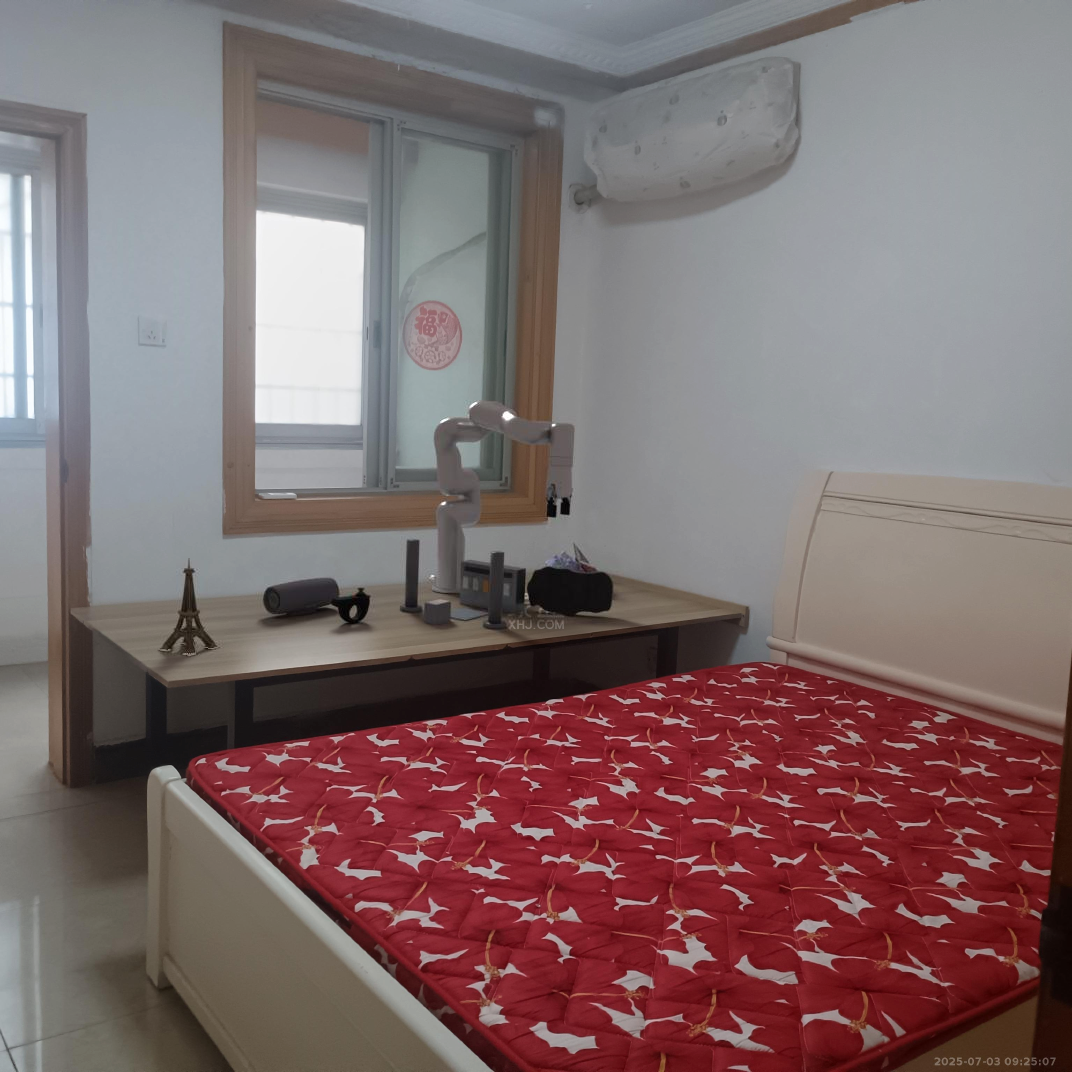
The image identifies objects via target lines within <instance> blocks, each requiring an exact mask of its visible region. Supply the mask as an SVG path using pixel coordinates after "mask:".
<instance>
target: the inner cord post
mask: <svg viewBox="0 0 1072 1072" xmlns="http://www.w3.org/2000/svg"><path fill="white" fill-rule="evenodd" d="M405 545H406V552H405V553H406V554H405V583H404V584H405V587H404V604H400V605H399V611H401V612H404V613H419V612H422V611H423V605H421V604H418V603H419V601H418V600H419V571H420V539H416V538H407V539H406V544H405Z"/></svg>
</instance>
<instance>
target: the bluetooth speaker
mask: <svg viewBox="0 0 1072 1072" xmlns="http://www.w3.org/2000/svg"><path fill="white" fill-rule="evenodd" d="M337 597H340V588H339V584H338V582H337V581H336V580H335V579H334V578H332V577H317V578H315V577H314V578H309V579H299V580H295V581H294V580H293V581H289V582H284V583H279V584H276V585H275V584H274V585H270V586H268V587H267V588H266V589H265V591H264V593H263V596H262V604H263V606H264V609H265V611H267V613H269V614H270V615H284V614H286V615H287V616H300V615H305V614H309V613H315V612H318V611H317V610H318V608H323V607H325V606H330V605H331V601H332V599H333V598H337Z"/></svg>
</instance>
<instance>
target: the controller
mask: <svg viewBox="0 0 1072 1072" xmlns="http://www.w3.org/2000/svg"><path fill="white" fill-rule="evenodd" d="M357 590H358V591H357V592H356V593H355V594H349V595H346V596H339V597H337V598H333V599H332V601H331V604H330V605H332V606H333V607H335V608H337V613H338V615H339V617H340V619H341V620H343V621H344V622H346V623H348V624H357V623H359V622H361V621H363V620H364V619H365V618H366V616H367V614H368V612H369V608H370V603H371V599H370V598H371V597H372V596H371V595H370V594H367V593H365V590H366V589H365V588H364V587H358V588H357ZM354 606H355V607H356V612H355V615H354V616H351V615H350V614H351V613H350V612H351V609H352V608H353V607H354Z"/></svg>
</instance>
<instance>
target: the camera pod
mask: <svg viewBox="0 0 1072 1072" xmlns="http://www.w3.org/2000/svg"><path fill="white" fill-rule="evenodd" d="M423 609H424V610H423V623H425V624H429V625H435V626H438V625H441V624H444V623H448V622H451V618H450V617H451V610H452V601H450V600H446V599H440V598H439V599H434V600H430V601H426V602H424V605H423Z"/></svg>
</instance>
